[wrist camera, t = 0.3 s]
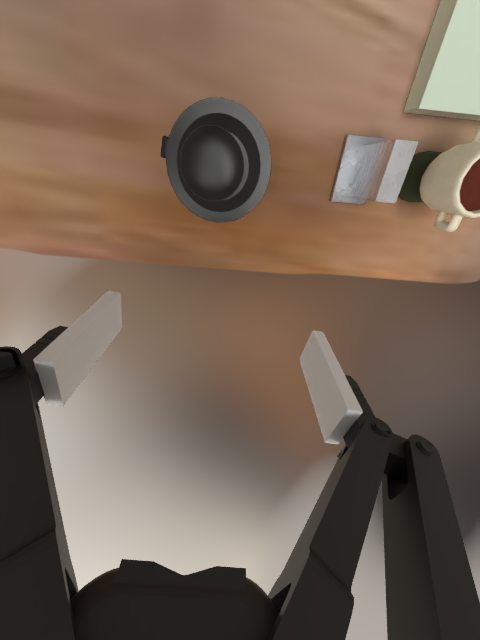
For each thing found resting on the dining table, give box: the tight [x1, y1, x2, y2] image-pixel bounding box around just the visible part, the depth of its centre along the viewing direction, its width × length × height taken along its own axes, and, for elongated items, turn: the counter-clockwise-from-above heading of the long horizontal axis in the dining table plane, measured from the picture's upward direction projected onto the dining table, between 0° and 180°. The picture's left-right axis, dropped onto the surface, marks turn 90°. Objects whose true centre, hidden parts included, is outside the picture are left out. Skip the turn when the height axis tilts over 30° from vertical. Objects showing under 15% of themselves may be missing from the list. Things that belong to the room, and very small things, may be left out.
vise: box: [329, 135, 418, 204], centre depth 32 cm, size 8×25×9 cm, turn 85°
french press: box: [161, 98, 271, 222], centre depth 25 cm, size 12×9×23 cm
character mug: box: [399, 125, 480, 232], centre depth 30 cm, size 11×7×13 cm, turn 176°
